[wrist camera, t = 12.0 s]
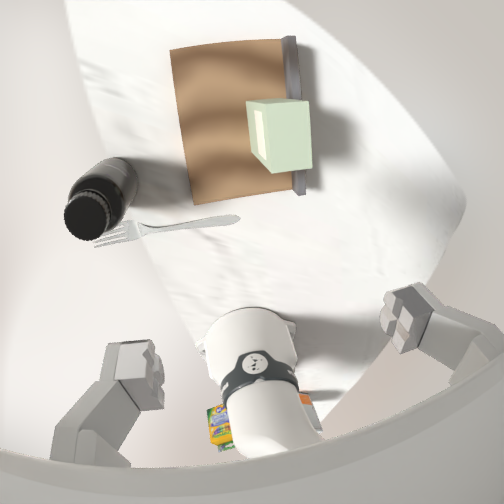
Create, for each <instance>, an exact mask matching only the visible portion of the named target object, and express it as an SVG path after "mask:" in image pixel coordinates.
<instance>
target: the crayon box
mask: <svg viewBox="0 0 504 504" xmlns="http://www.w3.org/2000/svg"><path fill="white" fill-rule="evenodd" d="M207 415H208V423H209V432H210V440H211V443H212V444H215V445H217V446H218V451H219V452H222V451H225V450H228V449H232V448H235V445H233V446H232V447H227V448H225V446H226V445H228V444H230V443H233V438H232V433H231V428H230V422H229V416H228V411H227V409H226V408H225V407H224V404H221V405H219V406H216V407H213V408H211V409H208V410H207Z"/></svg>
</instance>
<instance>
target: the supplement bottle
mask: <svg viewBox="0 0 504 504" xmlns="http://www.w3.org/2000/svg"><path fill="white" fill-rule="evenodd" d="M137 187H138V179H137V175H136V173H135V171H134V169H133V168H132V166H131V165H130V164H129V163H127V162H126V161H124V160H122V159H118V158H109V159H105V160H103V161H101V162H100V163H98V164H97V165H95V166H94V167H93V168H92V169H90V170H89V171H88V172H87V173H86V174H84V175H83V176H82V177H81V178H80V179H78V180H77V181H76V183H75V184H74V185H73V186H72V188H71V191H70V193H69V197H68V204H67V205H66V209H65V210H64V212H65V213H64V220H65V224H66V226H67V228H68V229H69V232H71V233H72V235H74V236H75V237H77V238H79V239H82V240H86V241H89V240H91V241H92V240H93V239H97V238H99V237H100V236H101V235H102V234H103V233H106V232H109V231H111V230H113V229H114V228H115V227H116V226H118V224H119V223H120V222H121V220H122V219H123V216H124V215H125V213H126V211H127V209H128V207H129V205H130V204H131V202H132V200H133V198H134V196H135V194H136V191H137Z"/></svg>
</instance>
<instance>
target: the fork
mask: <svg viewBox="0 0 504 504" xmlns="http://www.w3.org/2000/svg"><path fill="white" fill-rule="evenodd" d="M239 220H240V217H239V216H237V215H224V216H217V217H211V218H205V219H201V220H196V221H192V222H187V223H183V224H178V225H173V226H168V227H161V228H152V227H147V226H145V225H143V224H142V223H138V227H139V231H140V234H141V235H140V234H139V232H138V230H137V227H136V224H135V222H134V221H133V220H127V221H123V222H120V223H119V224H118V226H121V225H124V227H122V228H119V229H116V230H113V231H109V232H106V233H103V234H102V235H101V236H104V235H108V234H112V233H115V232H120V231H126V232H125V233H123V234H119V235H115V236H111V237H107V238H104V239H100V240H97V241H95V242H93V243H97V242H101V241H105V240H110V239H114V238H118V237H127V238H126V239H122V240H117V241H113V242H108V243H104V244H101V245H97V246H94V248H96V247H101V246H105V245H110V244H115V243H120V242H127V241H133V240H137V239H139V238H141V236H144V235H146V234H148V233H157V232H165V231H172V230H180V229H189V228H202V227H214V226H226V225H231V224H234V223H236V222H238V221H239ZM101 236H100V237H101Z"/></svg>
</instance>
